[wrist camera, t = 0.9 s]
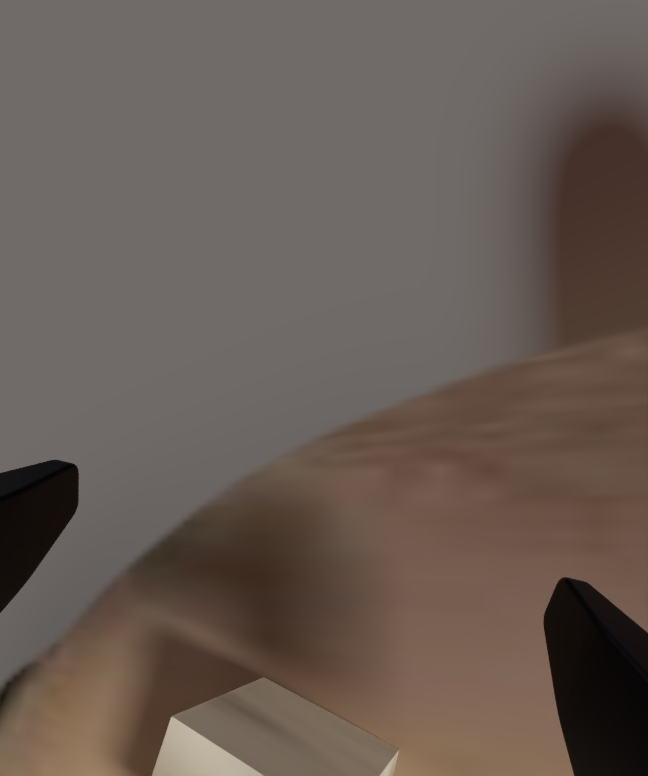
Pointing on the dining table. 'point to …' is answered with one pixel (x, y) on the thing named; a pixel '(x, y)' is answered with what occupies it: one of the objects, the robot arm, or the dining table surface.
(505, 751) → the dining table surface
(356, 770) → the plain ash cube
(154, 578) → the dining table surface
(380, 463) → the dining table surface
